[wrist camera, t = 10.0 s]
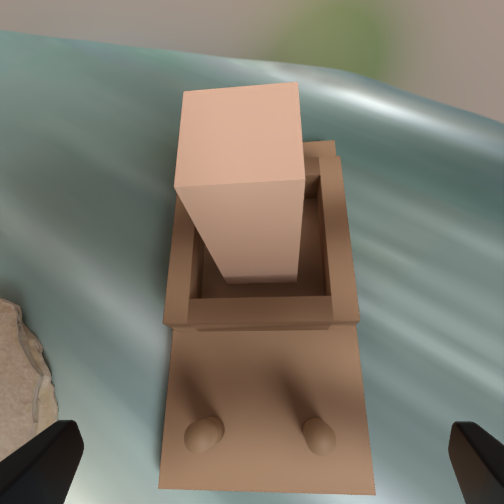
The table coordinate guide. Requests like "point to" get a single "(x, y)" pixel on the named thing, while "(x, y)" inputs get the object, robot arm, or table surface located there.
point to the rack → (268, 361)
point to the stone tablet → (22, 383)
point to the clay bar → (244, 178)
